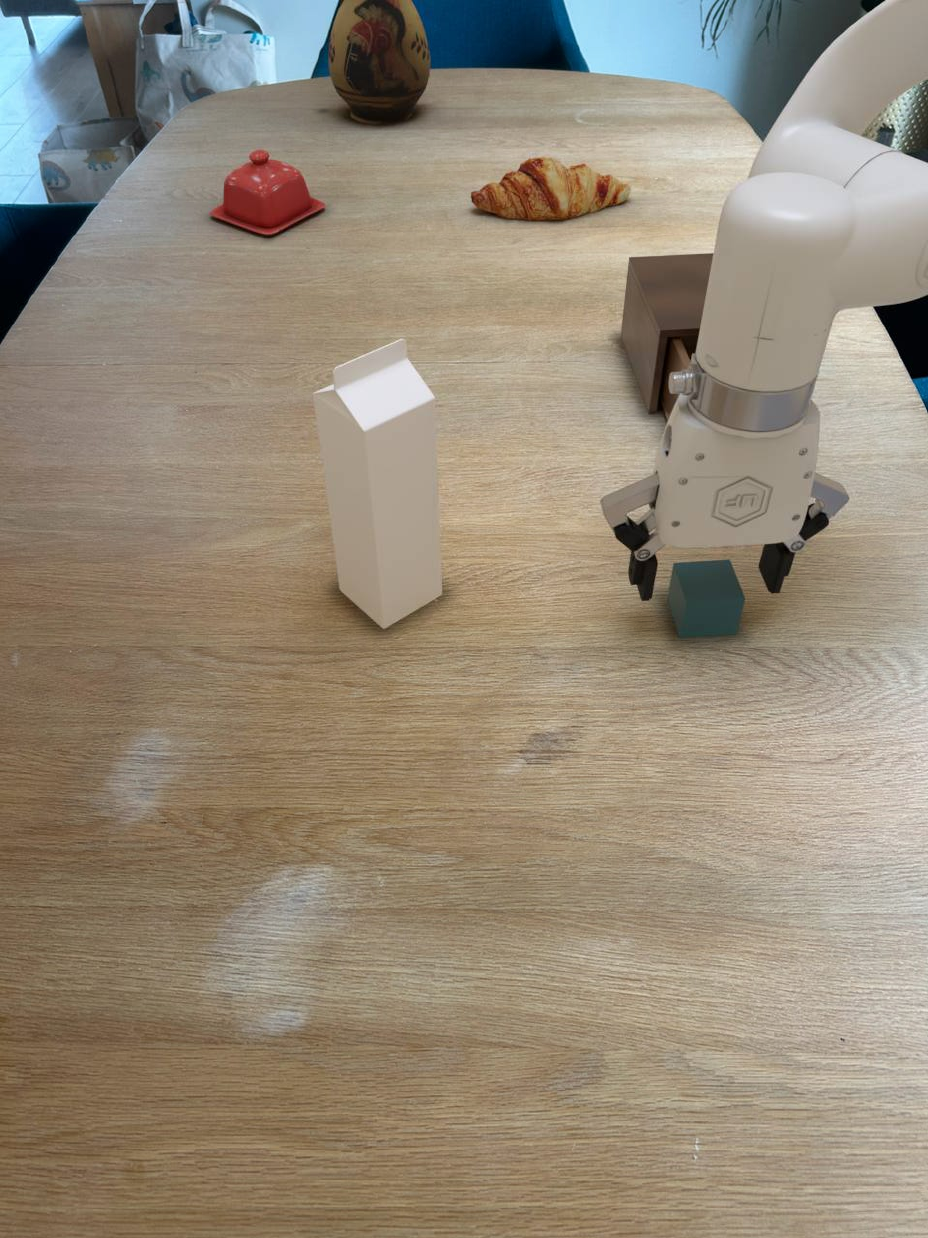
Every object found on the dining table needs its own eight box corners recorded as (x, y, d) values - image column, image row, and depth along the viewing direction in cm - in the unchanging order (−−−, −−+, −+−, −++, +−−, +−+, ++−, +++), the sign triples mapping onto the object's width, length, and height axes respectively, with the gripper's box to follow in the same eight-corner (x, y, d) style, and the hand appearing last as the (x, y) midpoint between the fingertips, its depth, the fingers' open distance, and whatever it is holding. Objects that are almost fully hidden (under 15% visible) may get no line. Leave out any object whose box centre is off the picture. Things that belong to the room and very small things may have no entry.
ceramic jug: (445, 104, 160) (440, -126, 139) (413, 139, 150) (401, -104, 129) (347, 94, 164) (327, -131, 143) (309, 127, 154) (281, -110, 132)
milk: (339, 594, 81) (303, 350, 65) (398, 561, 84) (377, 319, 68) (385, 635, 77) (358, 388, 62) (445, 599, 80) (434, 354, 65)
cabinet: (774, 411, 98) (796, 322, 91) (647, 419, 98) (660, 329, 91) (734, 336, 108) (751, 250, 102) (619, 342, 108) (629, 256, 101)
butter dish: (269, 245, 125) (258, 176, 119) (206, 222, 130) (193, 155, 124) (331, 213, 132) (324, 146, 126) (269, 193, 137) (259, 127, 131)
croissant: (619, 220, 137) (617, 156, 135) (643, 212, 127) (642, 144, 125) (467, 230, 134) (462, 166, 132) (480, 224, 125) (475, 154, 122)
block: (720, 600, 80) (729, 559, 77) (735, 639, 77) (745, 598, 74) (665, 603, 80) (673, 562, 76) (678, 643, 76) (686, 602, 73)
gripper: (626, 426, 60) (600, 626, 72) (907, 412, 61) (834, 613, 73) (604, 361, 65) (583, 557, 77) (863, 349, 66) (802, 545, 78)
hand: (705, 584), depth 75 cm, fingers open, 9 cm apart
